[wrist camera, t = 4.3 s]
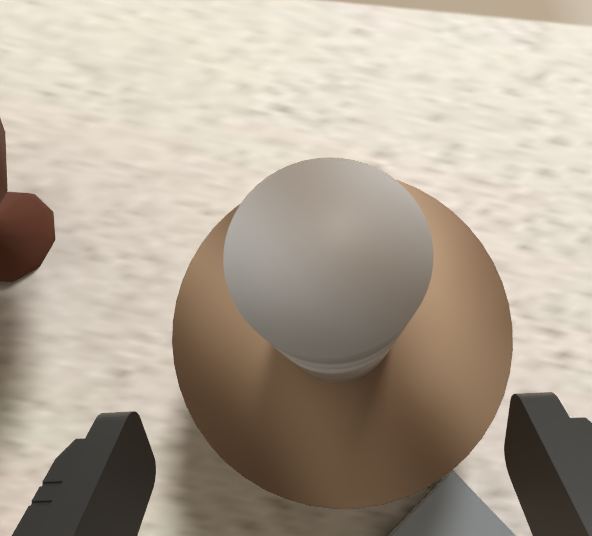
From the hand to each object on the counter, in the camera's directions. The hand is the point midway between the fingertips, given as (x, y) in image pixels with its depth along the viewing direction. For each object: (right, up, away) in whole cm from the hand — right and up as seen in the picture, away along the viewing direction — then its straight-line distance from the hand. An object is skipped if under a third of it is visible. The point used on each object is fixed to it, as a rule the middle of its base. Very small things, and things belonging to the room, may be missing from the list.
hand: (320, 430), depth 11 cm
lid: (+1, +1, +9) cm, 9 cm away
